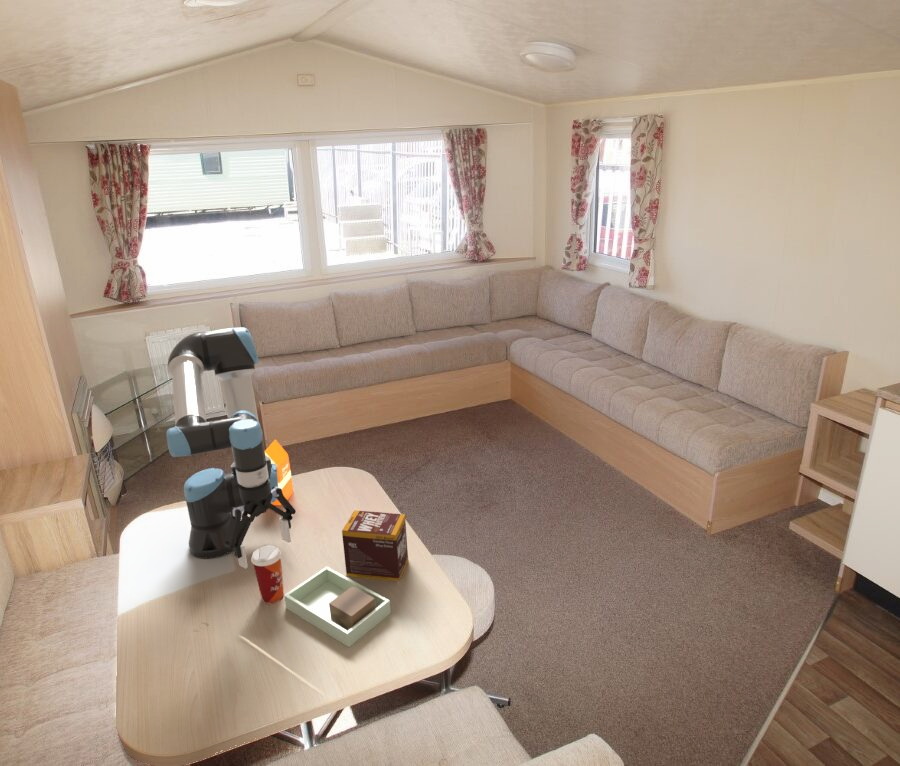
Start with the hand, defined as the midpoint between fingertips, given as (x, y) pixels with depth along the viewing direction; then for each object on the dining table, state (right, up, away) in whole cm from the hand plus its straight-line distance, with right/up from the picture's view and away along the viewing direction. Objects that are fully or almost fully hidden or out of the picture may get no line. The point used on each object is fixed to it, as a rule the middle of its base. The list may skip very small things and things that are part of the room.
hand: (265, 553), depth 172 cm
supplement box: (+28, -9, +15) cm, 32 cm away
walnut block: (+24, -16, -5) cm, 29 cm away
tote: (+19, -15, -1) cm, 24 cm away
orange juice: (-10, +5, +53) cm, 54 cm away
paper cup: (0, -13, +6) cm, 14 cm away
